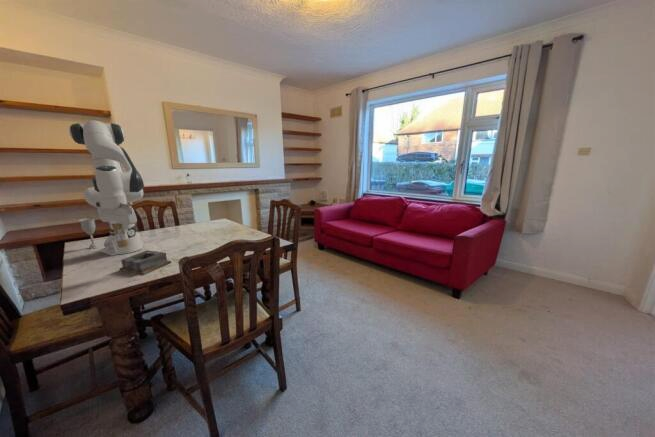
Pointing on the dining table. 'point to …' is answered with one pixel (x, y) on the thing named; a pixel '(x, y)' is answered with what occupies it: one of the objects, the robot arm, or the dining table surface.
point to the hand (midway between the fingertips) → (121, 232)
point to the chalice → (89, 229)
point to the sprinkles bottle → (120, 234)
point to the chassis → (144, 262)
